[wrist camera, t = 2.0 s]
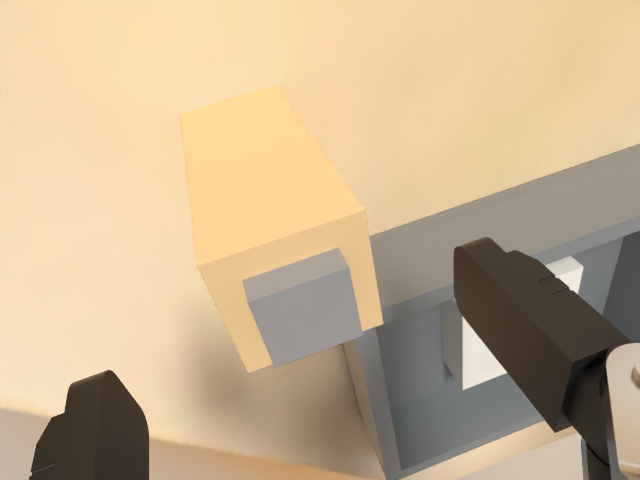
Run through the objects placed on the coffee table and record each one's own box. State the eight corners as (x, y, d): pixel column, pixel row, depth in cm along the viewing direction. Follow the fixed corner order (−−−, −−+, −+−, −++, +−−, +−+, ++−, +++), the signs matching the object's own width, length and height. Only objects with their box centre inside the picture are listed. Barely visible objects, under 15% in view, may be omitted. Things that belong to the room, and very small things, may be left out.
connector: (276, 85, 18) (377, 228, 10) (298, 171, 21) (394, 344, 12) (179, 114, 18) (199, 289, 10) (213, 198, 20) (253, 397, 12)
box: (650, 140, 26) (738, 179, 22) (599, 325, 36) (654, 375, 32) (319, 253, 24) (351, 319, 20) (361, 417, 34) (388, 483, 30)
